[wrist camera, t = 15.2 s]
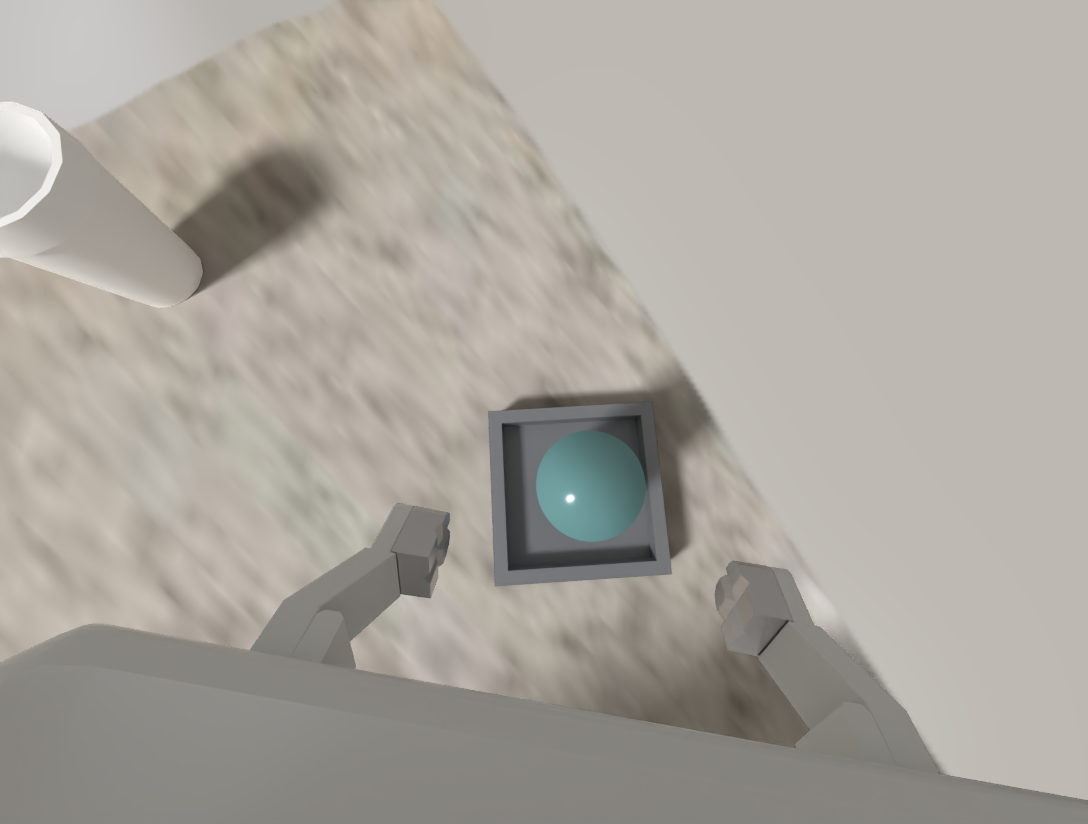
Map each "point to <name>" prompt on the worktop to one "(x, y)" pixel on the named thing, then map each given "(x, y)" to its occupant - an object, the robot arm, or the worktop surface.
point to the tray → (524, 531)
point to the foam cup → (83, 217)
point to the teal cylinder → (590, 486)
